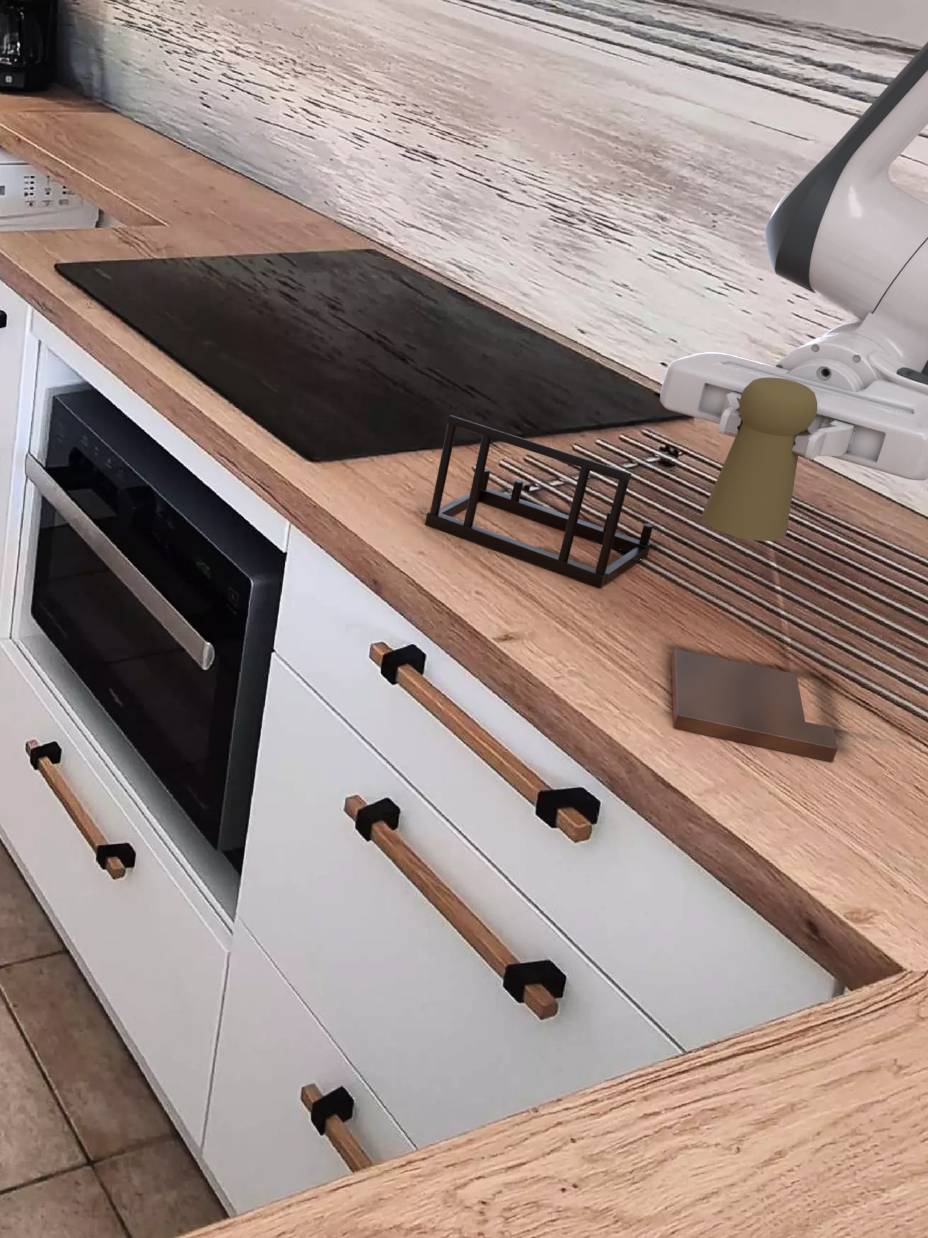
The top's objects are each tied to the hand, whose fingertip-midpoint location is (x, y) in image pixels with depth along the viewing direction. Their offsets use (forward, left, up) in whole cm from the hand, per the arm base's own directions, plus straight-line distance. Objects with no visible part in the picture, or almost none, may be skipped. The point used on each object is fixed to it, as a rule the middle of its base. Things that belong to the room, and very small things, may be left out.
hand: (766, 436), depth 120 cm
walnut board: (-4, +4, -20) cm, 20 cm away
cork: (0, -1, -7) cm, 7 cm away
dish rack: (+13, -21, -20) cm, 32 cm away
